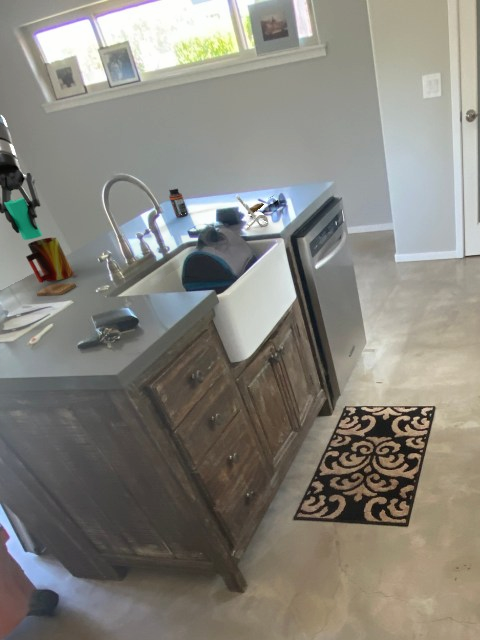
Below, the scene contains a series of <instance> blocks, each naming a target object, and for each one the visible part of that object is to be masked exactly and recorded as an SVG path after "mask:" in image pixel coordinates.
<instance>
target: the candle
mask: <svg viewBox="0 0 480 640" xmlns="http://www.w3.org/2000/svg"><path fill="white" fill-rule="evenodd" d="M11 198H12V200H11V201H9V202H7V203H6V202H4V204H5V206H6V207H7V209H8V211H9V213H10V214H11V216H12V217H13V219H14V221H15V223H16V225H17V227H18V229H19V232H20V233H19V234H20V236H21V237H22V240H24V241H28V240H33V239H37V238H40V237H42V236H44V235H43V232H42V230H41V228H40V227H39V225H38V223H37V222H36V224H37V228H38V229H36V230H35V228H34V227H33V226H32V225H31V222H30V219H29V216H28V213H27V211H28V208H27V205H28V204H27V202H26V200H25V199H24V197H21V198H18V199H16V200H15V199H14V196H13V195H12V194H11Z"/></svg>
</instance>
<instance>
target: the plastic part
mask: <svg viewBox="0 0 480 640" xmlns="http://www.w3.org/2000/svg"><path fill="white" fill-rule="evenodd" d="M235 198H236V199H237V200H238V202H239V203H240V204H241V205H242V206H243V207H244V208H245V210H246V211H247V213H248V212H249V213H250V214H251V215H252V217H251V218H252V220H251V221H249V222H248V223H245V227H244V230H246V231H248V230H249V229H250V228H251V227H252V226H253V225H254V224H255V223H257V224H258V225H259V226H261V227H263V228H264V227H267V226H268V225H269V219H268V217H267V216H266V215H265V214H264V212H263V213H262V212H260V211H257V212H255V213H253V212H252V211H251V210H250V208H249V206H248V205H246V203H244V201H243V200H242V198H240V195H238V194H236V195H235ZM260 219H262V220H260ZM263 220H264V221H266V222H268V223H266V222H264V221H263ZM259 222H260V223H259ZM247 225H248V226H249V227H248V226H247Z"/></svg>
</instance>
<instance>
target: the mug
mask: <svg viewBox="0 0 480 640" xmlns="http://www.w3.org/2000/svg"><path fill="white" fill-rule="evenodd" d="M27 246H28V248H29V250H30V252H31V254H28V255H26V256H25V258H26V260H27V261H28V264H29V265H30V267H31V269H32V271H33V273H34V275H35V277H36V278H37V281H38V282H39V283H40V284H42V283H45V282H46V281H47V282H55V281H61V280H64V279H68V278H70V277H72V276H73V275H74V274H75V273H74V270H73V269H72V266H71V265H70V262H69V261H68V258H67V257H66V255H65V253H64V250H63V248H62V246H61V244H60V242H59V241H58V238H57V237H55V236H54V237H45V238H40V239H37V240H34V241H31V242H29V243H28V244H27ZM34 260H35V261H36V263H37V265H38V267H39V268H40V270H41V273H42V274H43V275H41V273H40V272H39V270H38V268H37V266H36V264H35V262H34Z"/></svg>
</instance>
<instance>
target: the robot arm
mask: <svg viewBox="0 0 480 640" xmlns="http://www.w3.org/2000/svg"><path fill="white" fill-rule="evenodd" d="M24 182H26V183H27V187H28V190H29V193H30V196H31V198H30V197H29V195H28V194H27V192H26V190H25V188H24V187H23V185H24ZM35 183H36V180H35V177H33V175H32V173H30V172H27V173H26V174H25V173H23V172H22V168H21V165H20V162H19V160H18V155H17V152H16V149H15V147H14V143H13V139H12V136H11V130H10V128H9V126H8V123H7V121H6V119H5V117H4V116H3V115H2V114H1V113H0V188H1V196H2V197H1V198H0V214H4V216H5V219H6V220H7V222H8V223H9V224H11V228H12V230H14V232H15V233H16V234H20V232H19V229H18V227H17V225H16V223H15V221H14V219H13V217H12V216H11V214H10V213H9V211H8V209H7V207H6V206H5V204H4V202H6V203H7V202H9V201H12V199H11V198H12V196H11V195H12V191H14V190H17V191H19V193H20V194H21V196H22V198H24V199H25V201H26V203H27V208H28V211H27V213H28V216H29V219H30V222H31V225H32V226H33V227H34V228H35V230H36V229H38V228H37V225H38V223H37V220H36V219H37V218H38V213H37V210H36V208H37V207H38V208H40V207H41V202H40V199H39V196H38V192H37V188H36V186H35ZM31 199H32V200H31ZM36 223H37V224H36Z"/></svg>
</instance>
